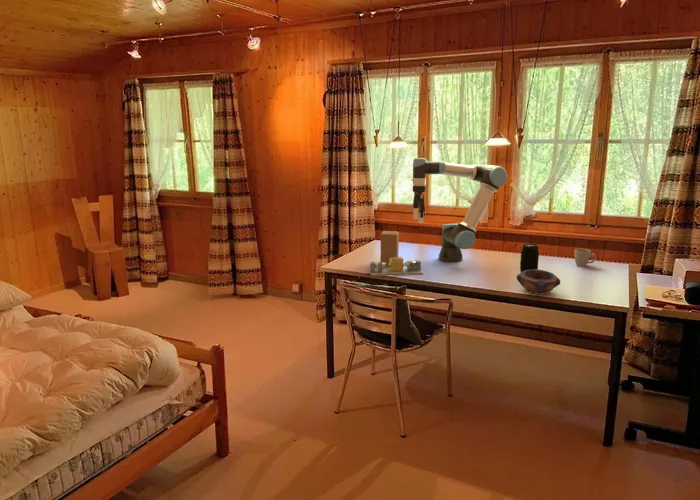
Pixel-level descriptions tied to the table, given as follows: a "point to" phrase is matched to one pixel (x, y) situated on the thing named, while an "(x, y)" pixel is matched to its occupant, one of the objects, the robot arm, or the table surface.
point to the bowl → (538, 281)
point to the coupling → (396, 264)
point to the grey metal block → (413, 265)
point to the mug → (583, 257)
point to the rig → (387, 272)
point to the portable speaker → (529, 257)
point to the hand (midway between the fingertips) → (418, 221)
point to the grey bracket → (379, 265)
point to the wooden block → (389, 245)
